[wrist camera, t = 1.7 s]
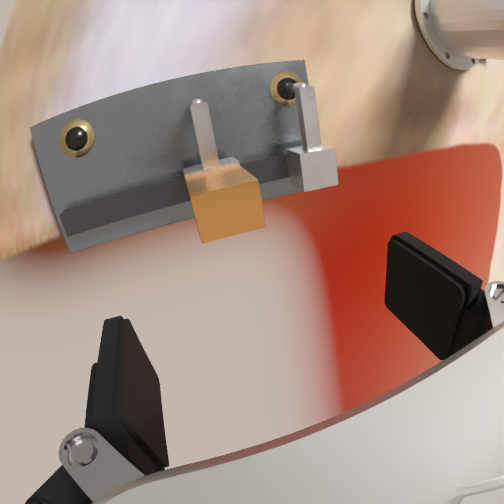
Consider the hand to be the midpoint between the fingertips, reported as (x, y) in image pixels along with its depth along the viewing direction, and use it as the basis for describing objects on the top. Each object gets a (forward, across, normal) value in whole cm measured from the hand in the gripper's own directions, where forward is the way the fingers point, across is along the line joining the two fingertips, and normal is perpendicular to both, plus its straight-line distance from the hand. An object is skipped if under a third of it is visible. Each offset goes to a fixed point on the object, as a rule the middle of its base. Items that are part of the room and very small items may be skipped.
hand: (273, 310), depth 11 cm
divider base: (+20, +1, -3) cm, 20 cm away
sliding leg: (+18, -1, -3) cm, 18 cm away
